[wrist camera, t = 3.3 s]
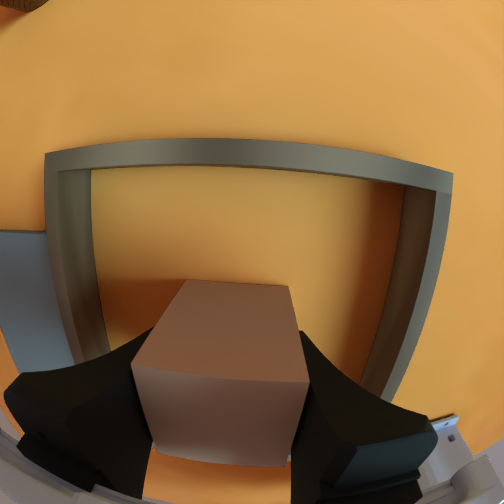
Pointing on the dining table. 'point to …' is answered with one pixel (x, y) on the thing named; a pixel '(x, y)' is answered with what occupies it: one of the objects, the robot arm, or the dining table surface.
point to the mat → (30, 304)
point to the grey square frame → (264, 157)
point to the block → (224, 374)
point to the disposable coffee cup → (22, 4)
